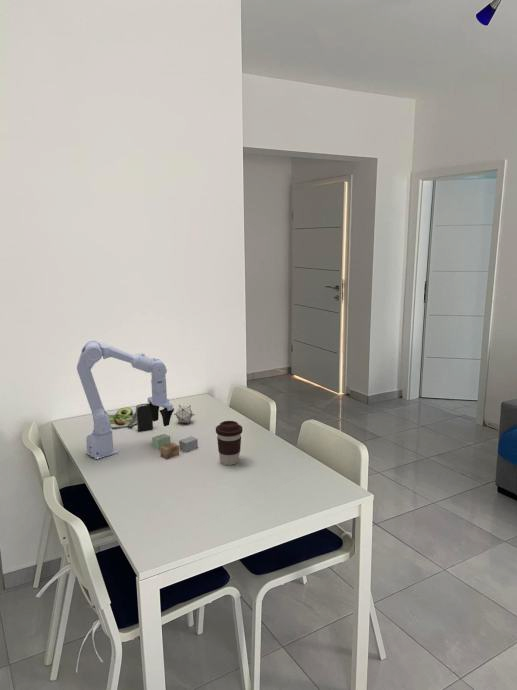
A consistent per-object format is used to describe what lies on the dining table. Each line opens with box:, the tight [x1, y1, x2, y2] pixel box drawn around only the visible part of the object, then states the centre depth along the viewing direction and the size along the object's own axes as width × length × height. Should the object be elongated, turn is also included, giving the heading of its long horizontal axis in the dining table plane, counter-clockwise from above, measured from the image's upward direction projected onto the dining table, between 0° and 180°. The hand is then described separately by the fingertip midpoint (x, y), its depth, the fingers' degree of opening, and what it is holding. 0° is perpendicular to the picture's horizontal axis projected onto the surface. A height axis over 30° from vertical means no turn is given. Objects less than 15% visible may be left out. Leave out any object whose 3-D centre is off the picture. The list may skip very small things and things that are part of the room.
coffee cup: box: [215, 420, 243, 466], centre depth 197 cm, size 10×10×15 cm
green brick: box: [151, 433, 172, 450], centre depth 212 cm, size 6×4×4 cm, turn 135°
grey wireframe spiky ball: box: [173, 404, 195, 425], centre depth 237 cm, size 9×8×10 cm
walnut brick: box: [159, 442, 180, 460], centre depth 203 cm, size 6×4×4 cm, turn 135°
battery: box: [135, 403, 154, 432], centre depth 229 cm, size 7×4×11 cm, turn 115°
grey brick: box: [178, 435, 199, 453], centre depth 210 cm, size 6×4×4 cm, turn 135°
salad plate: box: [109, 406, 137, 429], centre depth 238 cm, size 19×18×5 cm
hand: (160, 423), depth 211 cm, fingers open, 7 cm apart
